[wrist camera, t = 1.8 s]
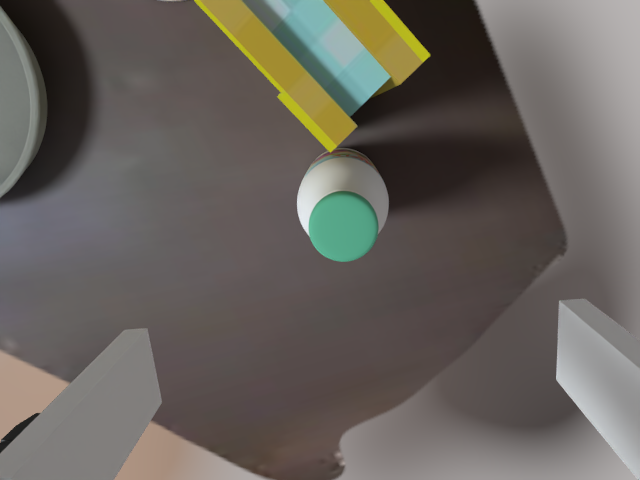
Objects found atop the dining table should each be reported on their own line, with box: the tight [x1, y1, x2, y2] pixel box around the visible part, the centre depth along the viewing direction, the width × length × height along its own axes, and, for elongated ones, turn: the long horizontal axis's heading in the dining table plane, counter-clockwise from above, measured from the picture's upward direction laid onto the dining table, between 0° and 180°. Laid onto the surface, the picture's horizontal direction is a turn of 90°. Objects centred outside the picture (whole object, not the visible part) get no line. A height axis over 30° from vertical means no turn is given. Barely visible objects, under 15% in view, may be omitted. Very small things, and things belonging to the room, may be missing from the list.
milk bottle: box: [297, 148, 389, 262], centre depth 40 cm, size 8×8×20 cm
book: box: [194, 0, 430, 153], centre depth 34 cm, size 17×7×25 cm, turn 44°
